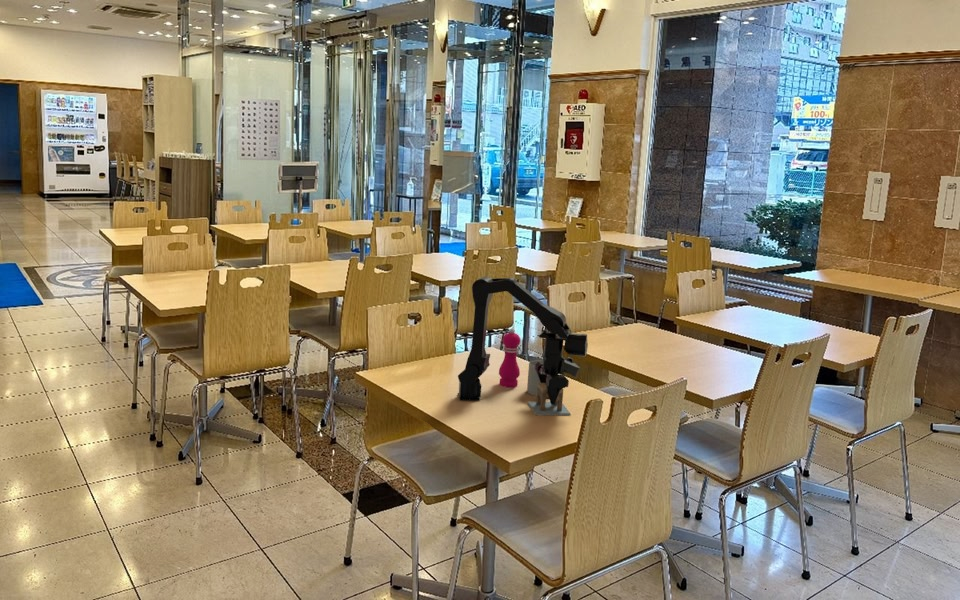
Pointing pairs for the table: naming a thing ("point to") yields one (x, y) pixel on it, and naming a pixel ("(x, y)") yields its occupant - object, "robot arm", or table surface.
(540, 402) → the stool
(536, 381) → the cup
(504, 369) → the pepper mill
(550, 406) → the mat
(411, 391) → the table surface
